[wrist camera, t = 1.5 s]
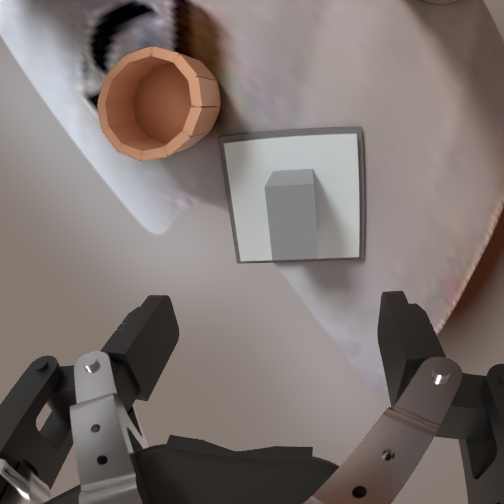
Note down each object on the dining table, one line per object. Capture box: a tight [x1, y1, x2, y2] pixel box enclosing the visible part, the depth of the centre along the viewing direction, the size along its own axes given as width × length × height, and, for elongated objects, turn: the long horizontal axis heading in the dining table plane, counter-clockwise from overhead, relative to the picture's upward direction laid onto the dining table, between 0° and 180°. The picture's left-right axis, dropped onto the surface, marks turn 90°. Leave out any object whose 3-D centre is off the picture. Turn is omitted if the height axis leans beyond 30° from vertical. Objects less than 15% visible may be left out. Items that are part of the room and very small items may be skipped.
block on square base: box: [224, 134, 359, 261], centre depth 23 cm, size 10×10×6 cm
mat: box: [219, 127, 364, 263], centre depth 25 cm, size 11×11×1 cm
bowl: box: [97, 46, 221, 161], centre depth 21 cm, size 8×8×5 cm
